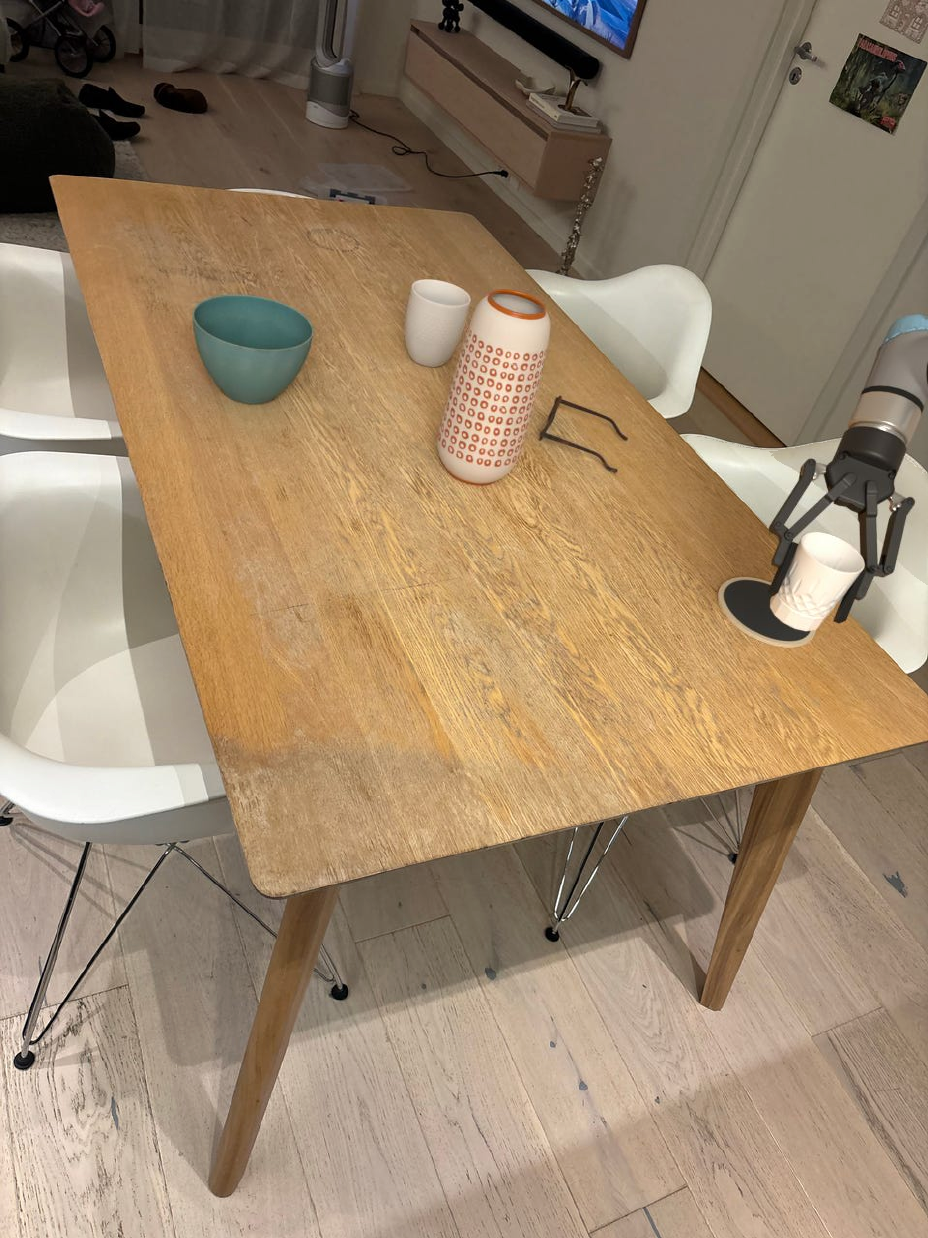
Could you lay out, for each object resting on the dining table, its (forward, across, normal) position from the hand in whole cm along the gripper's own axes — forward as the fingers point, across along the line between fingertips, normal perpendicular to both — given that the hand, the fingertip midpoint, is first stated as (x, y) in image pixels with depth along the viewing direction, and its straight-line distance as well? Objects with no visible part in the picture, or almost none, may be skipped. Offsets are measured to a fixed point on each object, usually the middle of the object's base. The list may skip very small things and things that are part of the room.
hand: (805, 607), depth 111 cm
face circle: (-3, 0, -25) cm, 25 cm away
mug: (-29, +72, -51) cm, 93 cm away
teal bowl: (-4, +89, -26) cm, 92 cm away
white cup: (0, 0, -5) cm, 5 cm away
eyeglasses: (-23, +37, -45) cm, 63 cm away
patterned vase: (-7, +50, -29) cm, 58 cm away
